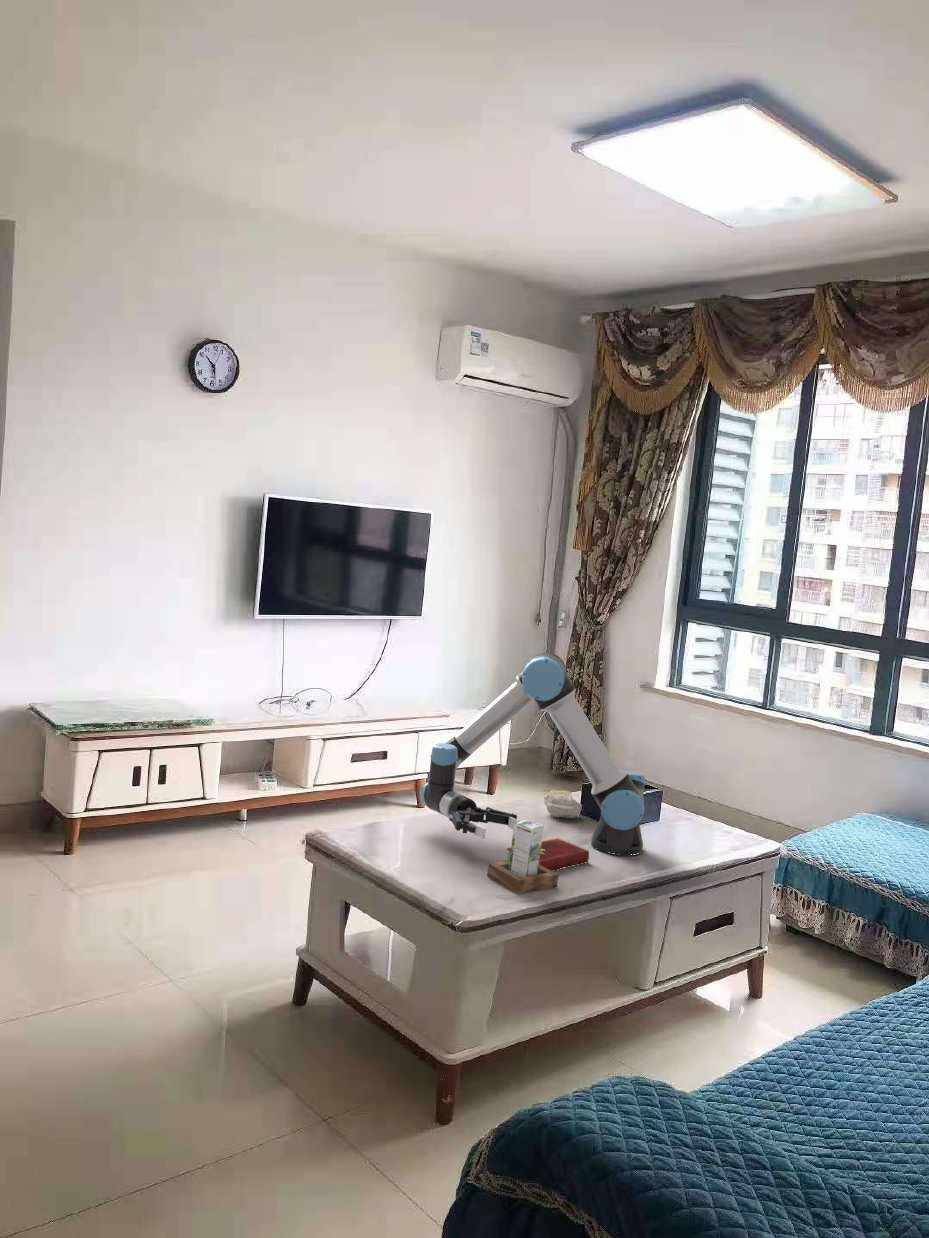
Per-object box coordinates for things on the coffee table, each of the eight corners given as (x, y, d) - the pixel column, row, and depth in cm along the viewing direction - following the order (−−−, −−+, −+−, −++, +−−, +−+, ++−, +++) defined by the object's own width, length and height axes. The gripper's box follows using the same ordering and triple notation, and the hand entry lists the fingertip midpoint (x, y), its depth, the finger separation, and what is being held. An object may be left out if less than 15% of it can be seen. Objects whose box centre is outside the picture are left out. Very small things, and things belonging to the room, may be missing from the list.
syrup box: (519, 872, 269) (525, 818, 268) (538, 878, 266) (544, 824, 264) (506, 876, 265) (513, 822, 263) (525, 883, 261) (532, 828, 260)
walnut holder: (525, 870, 274) (527, 857, 274) (557, 887, 264) (558, 874, 263) (486, 876, 267) (488, 863, 266) (517, 893, 256) (519, 880, 256)
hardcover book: (588, 864, 287) (589, 849, 286) (537, 876, 272) (539, 861, 272) (556, 851, 295) (557, 837, 295) (505, 862, 281) (506, 847, 280)
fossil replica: (585, 820, 329) (566, 814, 337) (589, 795, 329) (569, 789, 337) (556, 820, 322) (537, 813, 330) (559, 794, 322) (540, 788, 331)
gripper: (492, 817, 297) (539, 840, 279) (420, 824, 282) (465, 849, 265) (495, 792, 296) (542, 813, 279) (423, 798, 281) (468, 821, 264)
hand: (504, 831), depth 272 cm, fingers open, 13 cm apart
